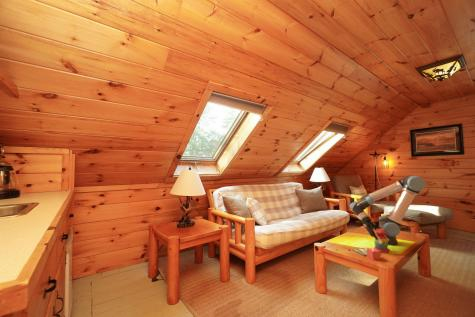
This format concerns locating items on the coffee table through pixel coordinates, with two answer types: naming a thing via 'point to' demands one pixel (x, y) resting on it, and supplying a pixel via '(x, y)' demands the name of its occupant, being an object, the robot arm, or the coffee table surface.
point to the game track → (362, 251)
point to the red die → (373, 254)
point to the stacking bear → (383, 246)
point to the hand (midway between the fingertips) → (384, 242)
